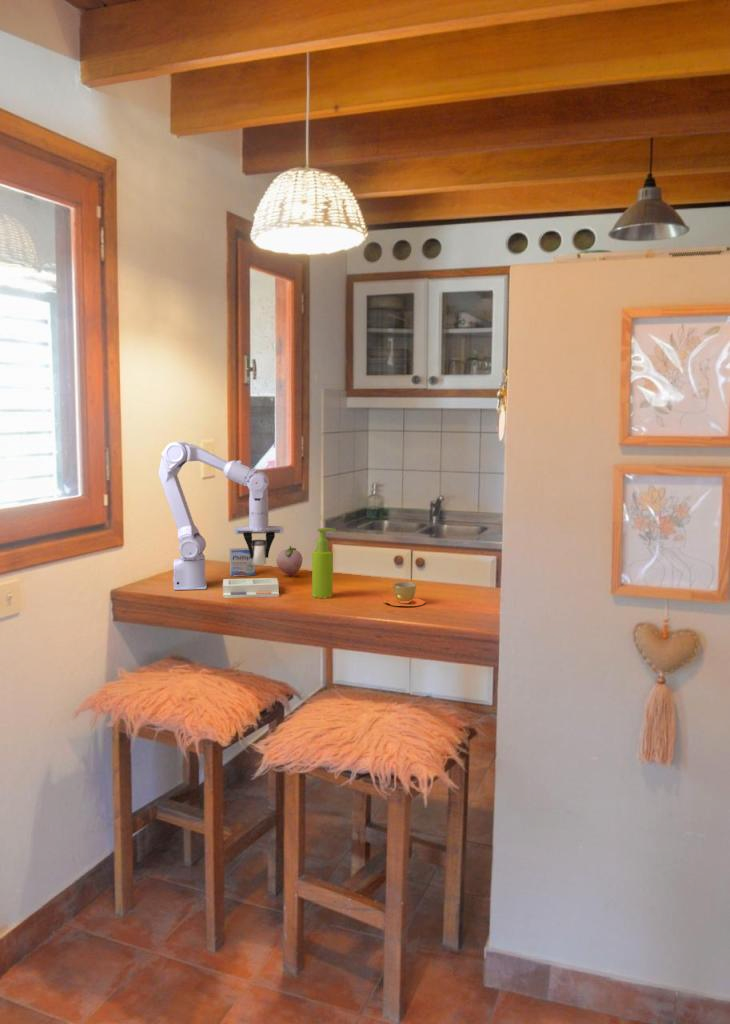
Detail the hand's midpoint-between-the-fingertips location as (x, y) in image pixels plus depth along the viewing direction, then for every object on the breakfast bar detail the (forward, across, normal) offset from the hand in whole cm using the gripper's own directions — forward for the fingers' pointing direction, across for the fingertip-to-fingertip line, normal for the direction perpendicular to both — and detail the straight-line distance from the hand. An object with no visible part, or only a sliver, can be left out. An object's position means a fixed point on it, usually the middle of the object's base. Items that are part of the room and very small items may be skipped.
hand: (259, 557), depth 236 cm
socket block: (+9, -3, -6) cm, 11 cm away
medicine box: (+10, -5, +20) cm, 22 cm away
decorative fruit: (+10, +10, +15) cm, 21 cm away
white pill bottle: (+2, 0, 0) cm, 2 cm away
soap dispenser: (+10, +18, -13) cm, 24 cm away
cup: (+10, +40, -23) cm, 47 cm away
